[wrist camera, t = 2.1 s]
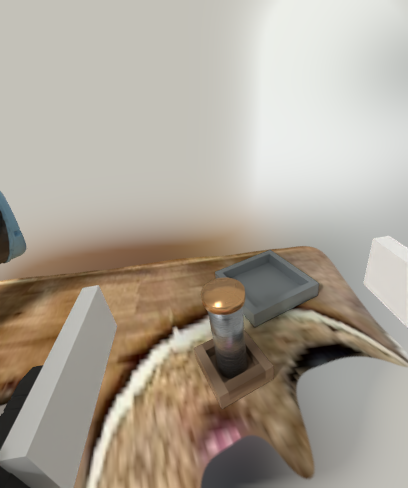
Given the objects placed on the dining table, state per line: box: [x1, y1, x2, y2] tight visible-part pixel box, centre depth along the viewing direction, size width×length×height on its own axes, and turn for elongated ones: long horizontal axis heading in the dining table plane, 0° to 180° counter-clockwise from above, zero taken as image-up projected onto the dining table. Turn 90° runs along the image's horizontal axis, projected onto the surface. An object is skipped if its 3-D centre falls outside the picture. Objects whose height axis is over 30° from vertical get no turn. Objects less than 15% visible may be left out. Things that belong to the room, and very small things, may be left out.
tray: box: [215, 250, 319, 327], centre depth 43 cm, size 12×12×2 cm
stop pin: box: [201, 277, 247, 379], centre depth 29 cm, size 4×4×12 cm
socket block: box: [194, 330, 274, 409], centre depth 31 cm, size 7×7×2 cm
